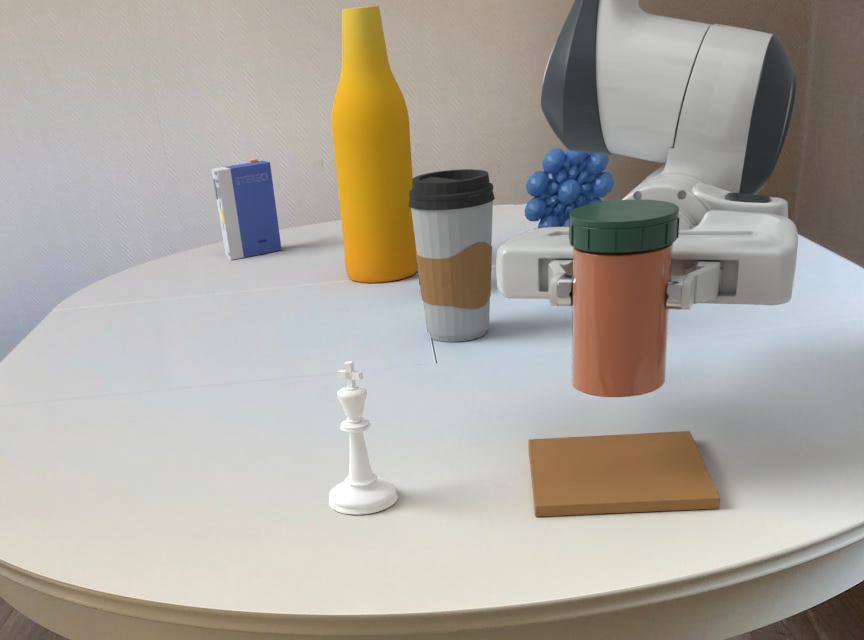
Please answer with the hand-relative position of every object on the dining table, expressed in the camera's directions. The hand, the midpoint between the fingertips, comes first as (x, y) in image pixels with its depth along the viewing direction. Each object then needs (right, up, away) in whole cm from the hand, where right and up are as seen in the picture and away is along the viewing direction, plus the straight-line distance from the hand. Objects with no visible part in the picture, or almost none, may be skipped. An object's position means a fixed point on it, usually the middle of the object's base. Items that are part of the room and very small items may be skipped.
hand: (618, 295), depth 68 cm
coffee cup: (-7, +9, +41) cm, 42 cm away
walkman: (-34, +33, +83) cm, 95 cm away
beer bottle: (-15, +24, +66) cm, 71 cm away
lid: (0, +4, -2) cm, 5 cm away
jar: (+1, -5, +4) cm, 6 cm away
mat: (+2, -10, +7) cm, 13 cm away
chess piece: (-17, -12, +8) cm, 22 cm away
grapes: (+10, +32, +75) cm, 82 cm away
